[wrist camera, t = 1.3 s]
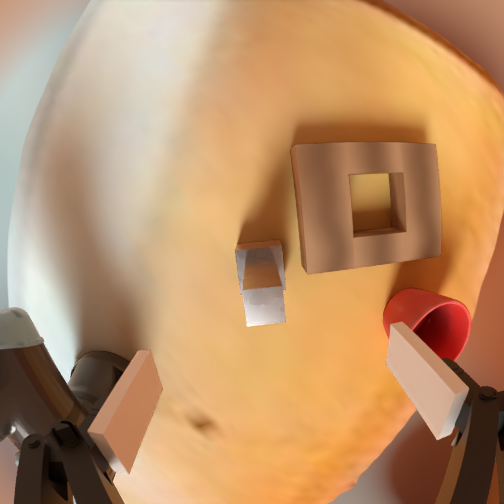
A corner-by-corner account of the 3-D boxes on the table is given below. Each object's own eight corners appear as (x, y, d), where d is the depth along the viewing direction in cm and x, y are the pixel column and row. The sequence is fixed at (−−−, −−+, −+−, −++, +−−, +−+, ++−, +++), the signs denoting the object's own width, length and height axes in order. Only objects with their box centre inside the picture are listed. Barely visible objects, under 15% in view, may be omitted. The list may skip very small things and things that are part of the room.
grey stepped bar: (242, 283, 36) (236, 338, 22) (237, 243, 35) (226, 278, 21) (282, 279, 36) (299, 331, 22) (278, 239, 35) (294, 271, 21)
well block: (301, 265, 35) (307, 274, 32) (290, 149, 33) (294, 144, 29) (425, 249, 35) (440, 255, 31) (419, 147, 32) (435, 144, 28)
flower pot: (365, 294, 36) (396, 326, 27) (430, 265, 36) (471, 286, 26) (377, 355, 38) (403, 393, 29) (436, 326, 38) (470, 355, 28)
